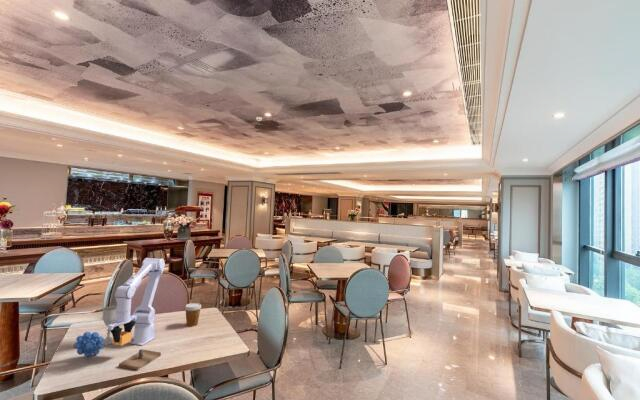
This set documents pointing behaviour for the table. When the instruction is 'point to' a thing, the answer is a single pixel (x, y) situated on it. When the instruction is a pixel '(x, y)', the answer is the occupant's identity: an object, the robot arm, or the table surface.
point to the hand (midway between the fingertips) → (121, 339)
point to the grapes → (89, 344)
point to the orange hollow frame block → (123, 338)
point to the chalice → (109, 321)
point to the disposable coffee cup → (192, 313)
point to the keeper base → (140, 359)
